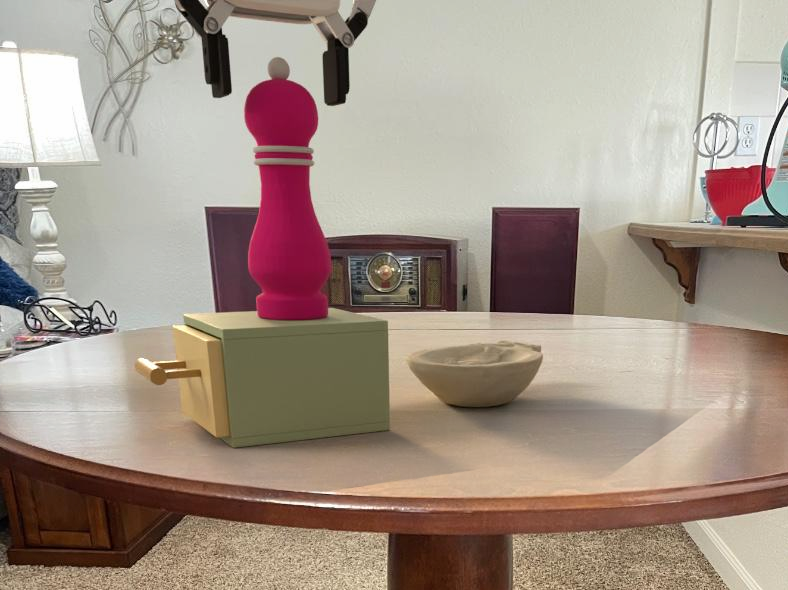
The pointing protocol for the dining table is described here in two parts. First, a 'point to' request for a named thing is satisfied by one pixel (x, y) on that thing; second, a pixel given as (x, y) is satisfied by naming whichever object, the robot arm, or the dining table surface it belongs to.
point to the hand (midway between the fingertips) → (280, 100)
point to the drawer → (195, 377)
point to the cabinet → (301, 375)
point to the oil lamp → (477, 372)
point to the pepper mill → (286, 201)
